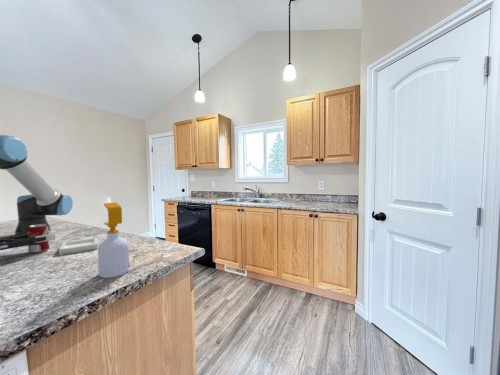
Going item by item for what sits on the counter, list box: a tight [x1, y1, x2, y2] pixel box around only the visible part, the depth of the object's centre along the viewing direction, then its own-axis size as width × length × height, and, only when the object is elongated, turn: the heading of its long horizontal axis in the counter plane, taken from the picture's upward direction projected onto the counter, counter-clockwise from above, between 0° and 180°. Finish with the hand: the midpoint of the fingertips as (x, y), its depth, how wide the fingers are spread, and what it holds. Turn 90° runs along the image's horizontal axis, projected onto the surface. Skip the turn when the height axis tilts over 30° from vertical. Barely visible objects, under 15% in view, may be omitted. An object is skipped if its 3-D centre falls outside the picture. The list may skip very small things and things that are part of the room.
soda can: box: [27, 224, 50, 254], centre depth 101 cm, size 7×7×12 cm
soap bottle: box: [97, 201, 130, 279], centre depth 78 cm, size 9×9×25 cm
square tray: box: [58, 236, 99, 256], centre depth 106 cm, size 13×13×2 cm
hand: (52, 234), depth 105 cm, fingers open, 8 cm apart
